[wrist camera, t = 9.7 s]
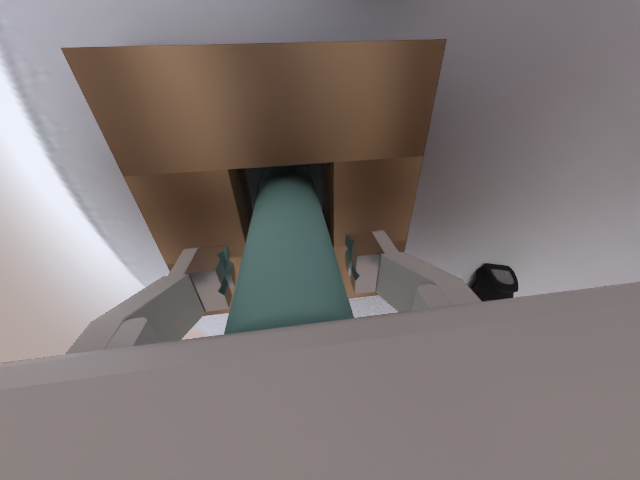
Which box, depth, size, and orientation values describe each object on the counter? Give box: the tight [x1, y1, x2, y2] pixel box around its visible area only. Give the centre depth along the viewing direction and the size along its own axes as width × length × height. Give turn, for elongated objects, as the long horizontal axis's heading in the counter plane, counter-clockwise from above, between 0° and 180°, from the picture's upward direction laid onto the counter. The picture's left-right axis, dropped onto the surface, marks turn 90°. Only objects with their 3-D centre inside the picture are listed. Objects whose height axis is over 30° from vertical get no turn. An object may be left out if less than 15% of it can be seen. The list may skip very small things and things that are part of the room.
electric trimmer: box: [472, 263, 518, 302], centre depth 26 cm, size 4×16×3 cm, turn 167°
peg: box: [224, 165, 354, 335], centre depth 11 cm, size 4×4×12 cm
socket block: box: [61, 39, 447, 316], centre depth 14 cm, size 14×14×4 cm
